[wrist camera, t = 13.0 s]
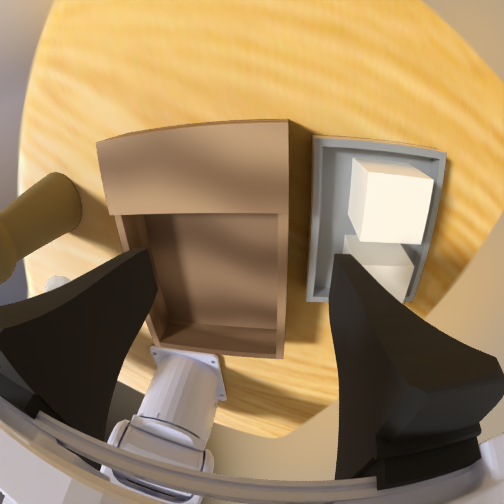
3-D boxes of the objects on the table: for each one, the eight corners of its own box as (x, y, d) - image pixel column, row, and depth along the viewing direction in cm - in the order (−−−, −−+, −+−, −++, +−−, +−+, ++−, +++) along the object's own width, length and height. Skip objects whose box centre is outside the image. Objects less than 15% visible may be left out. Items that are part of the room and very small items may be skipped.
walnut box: (285, 330, 25) (283, 363, 22) (167, 321, 27) (153, 349, 23) (288, 119, 16) (288, 122, 13) (126, 133, 18) (95, 142, 15)
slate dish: (406, 289, 21) (412, 301, 20) (305, 288, 23) (306, 301, 21) (435, 148, 15) (446, 152, 14) (312, 134, 17) (314, 137, 15)
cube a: (396, 237, 19) (414, 266, 15) (385, 281, 21) (398, 315, 17) (344, 234, 19) (355, 264, 16) (338, 280, 21) (344, 315, 18)
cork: (85, 185, 20) (-10, 248, 11) (79, 240, 23) (5, 311, 14) (42, 164, 20) (-48, 212, 10) (39, 217, 23) (-34, 274, 13)
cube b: (408, 163, 16) (433, 179, 13) (400, 217, 18) (420, 244, 15) (352, 157, 17) (368, 171, 13) (347, 214, 19) (359, 241, 15)
